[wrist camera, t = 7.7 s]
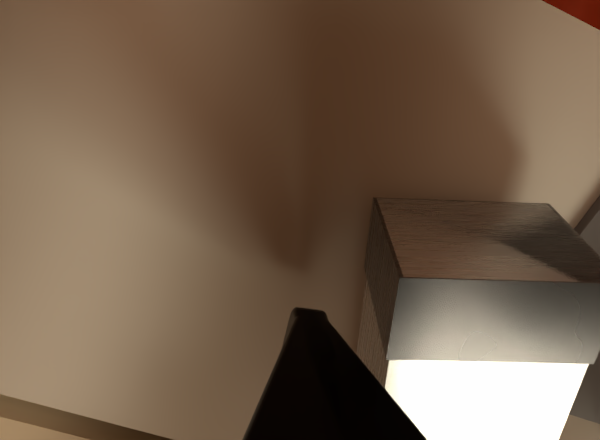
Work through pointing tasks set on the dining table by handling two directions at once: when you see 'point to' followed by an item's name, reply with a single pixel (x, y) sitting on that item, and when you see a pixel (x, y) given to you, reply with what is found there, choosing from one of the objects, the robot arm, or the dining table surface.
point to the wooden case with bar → (251, 184)
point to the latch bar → (479, 315)
